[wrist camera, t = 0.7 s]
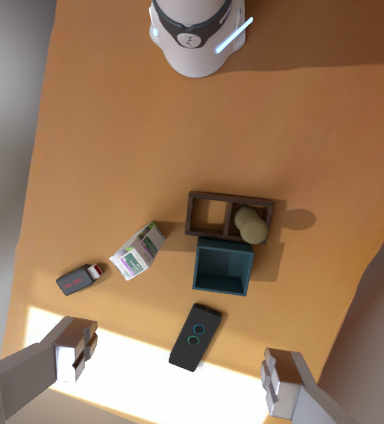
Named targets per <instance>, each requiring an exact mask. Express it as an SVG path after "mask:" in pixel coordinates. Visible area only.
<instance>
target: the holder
mask: <svg viewBox="0 0 384 424" xmlns="http://www.w3.org/2000/svg"><path fill="white" fill-rule="evenodd" d="M194 198H200V199H208V200H217V201H226V202H227V204H226V211H225V218H224V224H223V231H217V230H209V229H201V228H193V227H191V218H192V209H193V199H194ZM233 202H234V203H243V204H252V205H260V206H265V208H264V213H263V219H262V220H263V221H264V222H265V223H266V225H267V227H268V232H269V227H270V222H271V217H272V212H273V207H274V202H272V201H271V200H264V199H256V198H247V197H238V196H229V195H221V194H212V193H203V192H194V191H190V192H189V198H188V208H187V217H186V227H185V235H193V236H201V237H209V238H217V239H225V240H233V241H241V242H246V241H245V240H244V239H243V238H242V236H241V233H233V232H228V231H229V224H230V218H231V211H232V205H233ZM267 237H268V235H267ZM267 237H266V239H265V240H264V241H262V242H261V243H258V244H265V245H266V241H267Z"/></svg>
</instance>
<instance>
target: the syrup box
mask: <svg viewBox="0 0 384 424" xmlns="http://www.w3.org/2000/svg"><path fill="white" fill-rule="evenodd" d="M165 240H166V239H165V237H164V236H163V234H162V233H161V232H160V230H159V229H158V227H157V226H156V225H155V223H154V222H153V221H152V222H151V223H149V224H148V225H146V226H145V227H144V228H142V229H141V230H139V231H138V232H136V233H135V234H134V235H133V236H132V237H131V238H130V239H129V240H128V241H127V242H126V243H125V244H124V245H123V246H122V247H121V248H120V249H119V250H118V251H117V252H116V253H114V254H113V255H112V256H111V257H110V258H109V259H110V260H111V261H112V262H113V263H114V265H115V266H116V267H117V269H118V270H119V272H120V273H121V274H122V275H123V276H124V278H125V279H126V280H127V281H129V280H130V279H132V278H133V277H135V276H137V275H138V274H140V273H141V272H143V271H144V270H146V269H148V268H149V267H150V266H151V264H152V263H153V261H154V259H155V257H156V255H157V253H158V251H159V250H160V248H161V246H162V244H163V243H164V241H165Z"/></svg>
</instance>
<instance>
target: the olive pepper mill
mask: <svg viewBox="0 0 384 424" xmlns="http://www.w3.org/2000/svg"><path fill="white" fill-rule="evenodd" d="M233 223H234V225H235V226H236V227H237V228H238V229H239V230H240V233H241V236H242V238H243V239H244V240H245V241H246V242H248V243H251V244H258V243H261V242H262V241H264V240H265V239H266V237H267V235H268V227H267V225H266V223H265V222H264V221H263V220H262V219H260V218H259V215H258V213H257V211H256V210H255V209H254V208H253V207H251V206H241V207H239V208H238V209H236V211H235V212H234V214H233Z"/></svg>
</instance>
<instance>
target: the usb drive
mask: <svg viewBox="0 0 384 424" xmlns="http://www.w3.org/2000/svg"><path fill="white" fill-rule="evenodd" d="M102 274H103V272H102V270H101V269H100V267H99V266H98V264H97V263H96V264H94V265H92V266H91V265H87V264H86V265H83V266H81V267H79V268H77V269H75V270H73V271H71V272H69V273H67V274H65V275H63V276H61V277H59V278H58V279H57V280H56V283H57V284H58V286H59V287H60V289H61V290H62V292H63V293H64V294H65V295H66V296H68V295H70V294H72V293H75V292H77V291H79V290H81V289H83V288H86V287H88V286H90V285H92V284H93V283H94V282H95V281H96V280H97V278H99V277H101V276H102Z"/></svg>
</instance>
